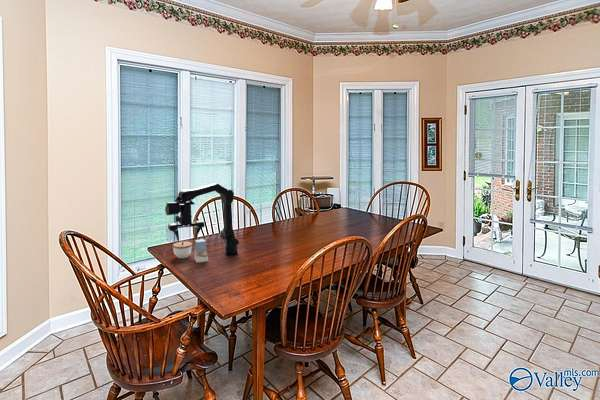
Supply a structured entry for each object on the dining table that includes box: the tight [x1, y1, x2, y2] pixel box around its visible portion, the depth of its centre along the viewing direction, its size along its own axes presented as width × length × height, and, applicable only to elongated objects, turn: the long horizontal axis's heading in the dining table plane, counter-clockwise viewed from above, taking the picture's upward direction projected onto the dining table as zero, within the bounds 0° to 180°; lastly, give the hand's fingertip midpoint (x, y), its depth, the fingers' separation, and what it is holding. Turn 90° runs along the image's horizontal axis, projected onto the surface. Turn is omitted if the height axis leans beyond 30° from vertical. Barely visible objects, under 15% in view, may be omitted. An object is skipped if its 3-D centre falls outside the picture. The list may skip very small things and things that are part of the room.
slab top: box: [194, 249, 208, 258], centre depth 207 cm, size 6×6×3 cm
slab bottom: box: [193, 254, 209, 264], centre depth 207 cm, size 6×6×3 cm
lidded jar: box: [172, 241, 193, 259], centre depth 212 cm, size 11×11×9 cm
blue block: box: [194, 238, 207, 253], centre depth 206 cm, size 5×5×6 cm
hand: (187, 240), depth 201 cm, fingers open, 9 cm apart
